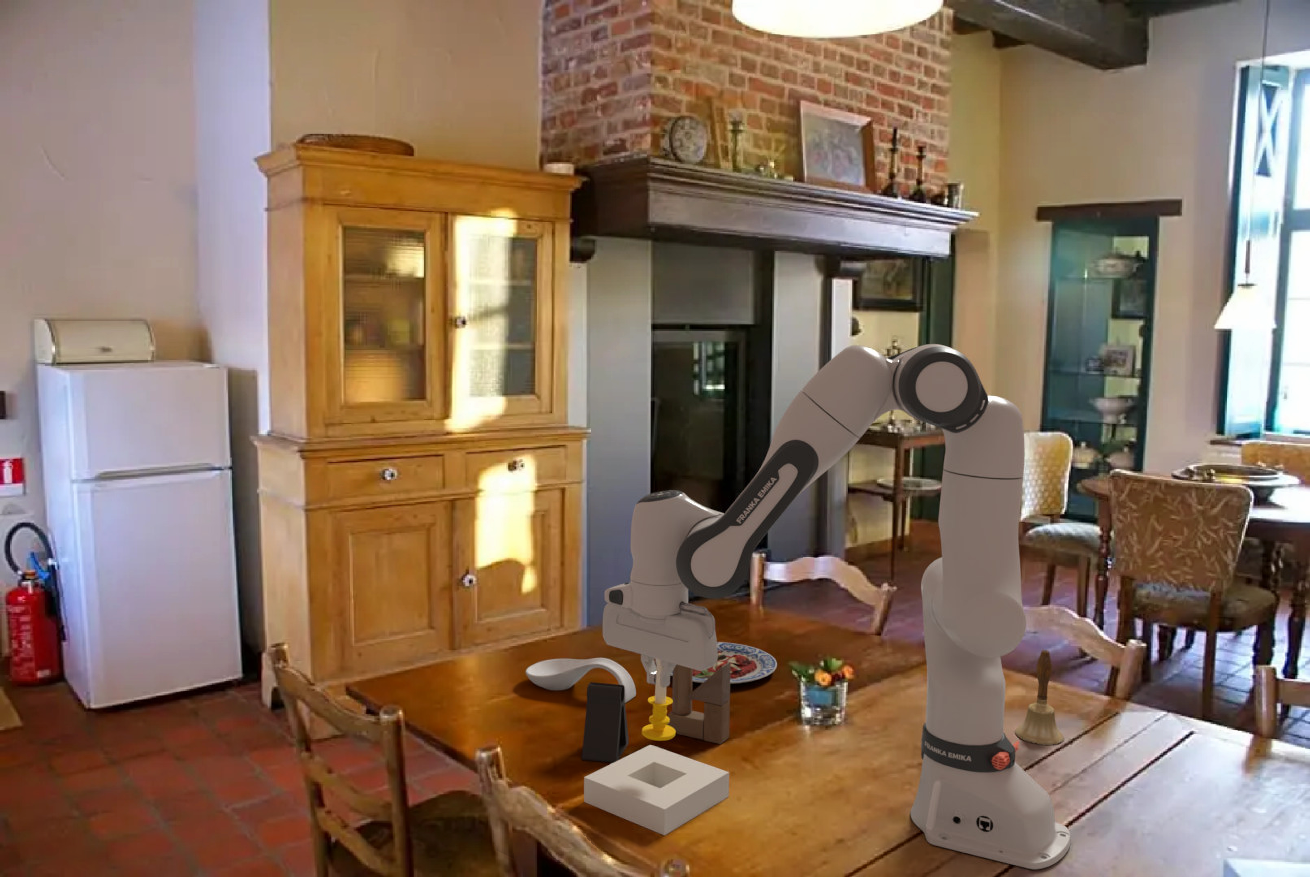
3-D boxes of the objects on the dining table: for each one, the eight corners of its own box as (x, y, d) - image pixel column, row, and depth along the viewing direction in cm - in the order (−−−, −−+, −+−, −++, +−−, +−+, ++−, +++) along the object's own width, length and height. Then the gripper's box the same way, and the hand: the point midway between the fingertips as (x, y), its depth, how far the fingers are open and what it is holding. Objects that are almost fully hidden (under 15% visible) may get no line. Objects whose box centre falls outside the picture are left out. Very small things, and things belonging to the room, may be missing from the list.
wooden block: (721, 745, 181) (722, 646, 179) (667, 732, 186) (668, 636, 184) (729, 738, 184) (731, 640, 182) (677, 725, 190) (678, 630, 187)
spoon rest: (514, 689, 208) (514, 655, 207) (546, 672, 218) (546, 639, 217) (617, 711, 197) (617, 675, 196) (645, 691, 207) (646, 657, 206)
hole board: (728, 796, 162) (729, 772, 161) (664, 835, 150) (664, 809, 149) (650, 767, 172) (650, 744, 171) (584, 802, 160) (584, 777, 159)
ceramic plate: (698, 644, 238) (698, 631, 237) (798, 667, 223) (798, 653, 222) (631, 674, 217) (631, 661, 217) (736, 702, 202) (736, 687, 202)
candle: (634, 733, 159) (639, 635, 156) (656, 723, 163) (661, 628, 160) (661, 744, 155) (666, 644, 153) (682, 733, 159) (687, 636, 157)
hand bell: (1071, 736, 187) (1076, 650, 185) (1052, 749, 181) (1058, 661, 179) (1026, 723, 192) (1031, 640, 190) (1007, 736, 186) (1011, 650, 184)
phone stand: (615, 764, 173) (615, 695, 172) (581, 760, 174) (581, 692, 173) (629, 742, 182) (629, 677, 180) (596, 739, 183) (596, 674, 182)
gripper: (727, 605, 153) (725, 695, 154) (623, 581, 166) (622, 664, 167) (701, 614, 148) (700, 707, 149) (596, 589, 161) (596, 675, 162)
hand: (658, 684), depth 158 cm, fingers closed on candle
